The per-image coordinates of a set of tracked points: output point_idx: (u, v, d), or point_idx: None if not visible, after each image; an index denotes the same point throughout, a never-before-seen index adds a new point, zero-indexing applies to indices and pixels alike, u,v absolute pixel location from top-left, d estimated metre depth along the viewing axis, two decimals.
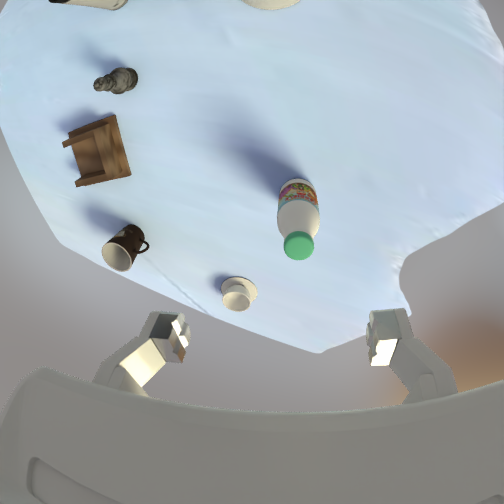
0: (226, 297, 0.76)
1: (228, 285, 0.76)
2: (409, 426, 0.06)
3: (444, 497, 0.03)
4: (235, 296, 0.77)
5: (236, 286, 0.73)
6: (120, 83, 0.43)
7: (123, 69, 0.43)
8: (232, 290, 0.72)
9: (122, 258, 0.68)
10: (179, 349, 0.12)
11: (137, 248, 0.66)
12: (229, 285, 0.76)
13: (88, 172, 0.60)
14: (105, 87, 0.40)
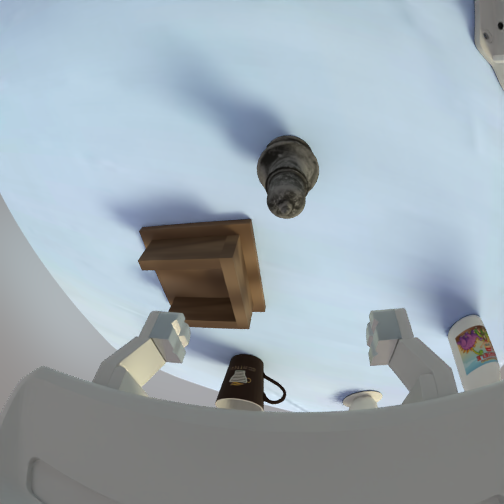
0: None
1: (353, 397, 0.58)
2: (409, 426, 0.06)
3: (444, 497, 0.03)
4: None
5: (366, 400, 0.55)
6: None
7: (304, 149, 0.24)
8: (364, 406, 0.54)
9: None
10: (179, 349, 0.12)
11: (263, 389, 0.48)
12: (354, 397, 0.58)
13: (182, 295, 0.42)
14: None
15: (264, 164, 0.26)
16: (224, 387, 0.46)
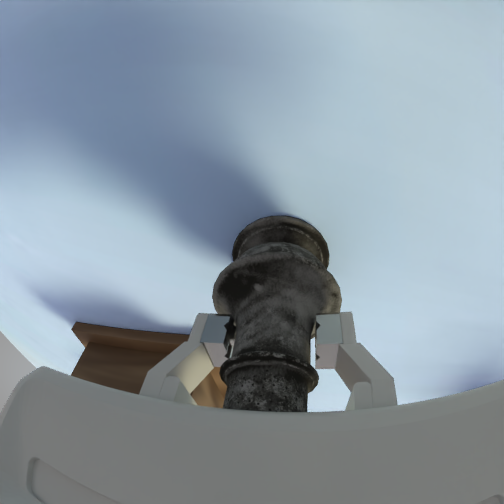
0: None
1: None
2: (409, 426, 0.06)
3: (444, 497, 0.03)
4: None
5: None
6: None
7: (315, 271, 0.11)
8: None
9: None
10: (230, 353, 0.11)
11: None
12: None
13: None
14: None
15: (226, 297, 0.12)
16: None
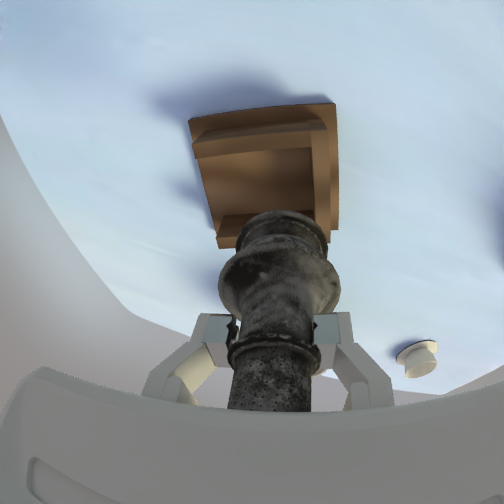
0: None
1: (409, 350, 0.50)
2: (409, 426, 0.06)
3: (444, 497, 0.03)
4: None
5: (424, 352, 0.47)
6: None
7: (316, 260, 0.12)
8: (424, 359, 0.46)
9: None
10: None
11: None
12: (410, 350, 0.50)
13: (235, 212, 0.33)
14: None
15: (231, 285, 0.13)
16: None
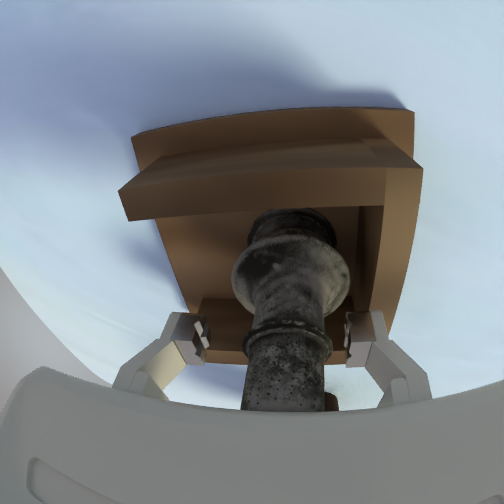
0: None
1: None
2: (409, 426, 0.06)
3: (444, 497, 0.03)
4: None
5: None
6: None
7: (327, 252, 0.12)
8: None
9: None
10: (201, 351, 0.11)
11: None
12: None
13: (220, 295, 0.20)
14: None
15: (245, 276, 0.13)
16: None
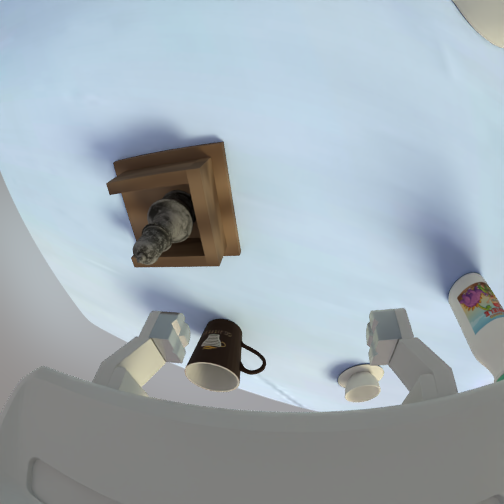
0: None
1: (350, 373, 0.52)
2: (409, 426, 0.06)
3: (444, 497, 0.03)
4: None
5: (365, 376, 0.49)
6: (175, 234, 0.32)
7: (178, 205, 0.31)
8: (362, 382, 0.47)
9: (210, 368, 0.45)
10: (179, 349, 0.12)
11: (240, 359, 0.44)
12: (351, 373, 0.52)
13: None
14: (157, 259, 0.28)
15: (151, 217, 0.32)
16: (195, 352, 0.41)
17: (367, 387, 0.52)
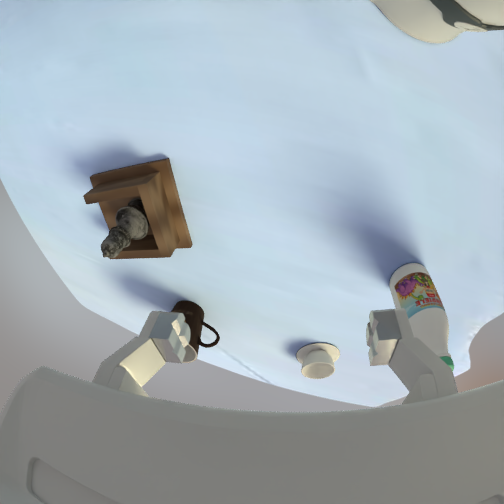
0: None
1: (306, 351, 0.60)
2: (409, 426, 0.06)
3: (444, 497, 0.03)
4: None
5: (318, 354, 0.57)
6: (135, 233, 0.39)
7: (136, 211, 0.39)
8: (315, 360, 0.56)
9: None
10: (179, 349, 0.12)
11: (200, 335, 0.53)
12: (307, 351, 0.60)
13: None
14: (118, 253, 0.36)
15: (117, 220, 0.40)
16: None
17: (325, 365, 0.60)
